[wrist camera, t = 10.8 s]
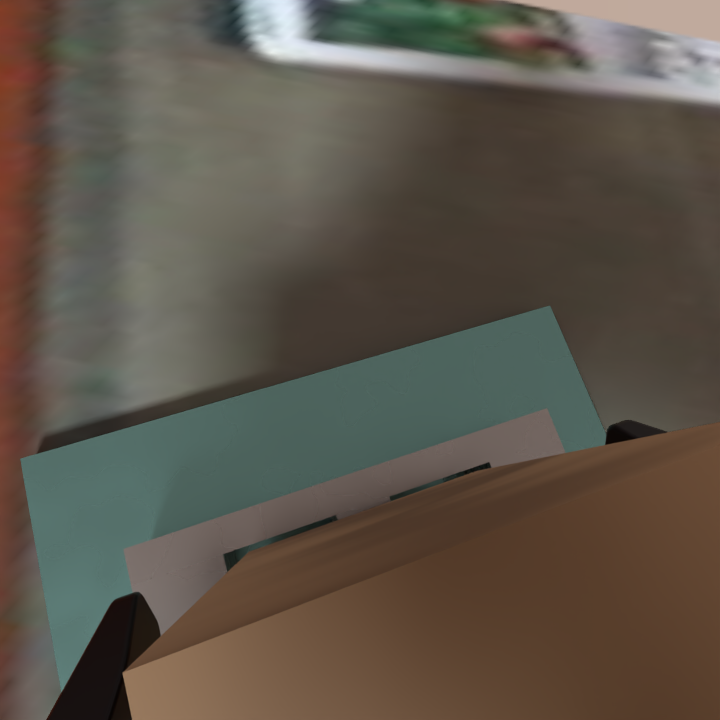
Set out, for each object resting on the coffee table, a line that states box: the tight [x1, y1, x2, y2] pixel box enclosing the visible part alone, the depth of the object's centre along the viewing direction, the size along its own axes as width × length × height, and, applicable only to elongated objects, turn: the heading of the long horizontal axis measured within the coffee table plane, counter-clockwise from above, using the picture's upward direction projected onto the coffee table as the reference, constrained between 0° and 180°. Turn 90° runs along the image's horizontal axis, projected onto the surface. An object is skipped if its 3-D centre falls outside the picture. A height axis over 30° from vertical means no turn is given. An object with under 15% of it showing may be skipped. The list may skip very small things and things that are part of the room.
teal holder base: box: [20, 306, 606, 692], centre depth 15 cm, size 18×12×3 cm, turn 108°
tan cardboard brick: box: [123, 422, 720, 720], centre depth 10 cm, size 6×3×13 cm, turn 109°
